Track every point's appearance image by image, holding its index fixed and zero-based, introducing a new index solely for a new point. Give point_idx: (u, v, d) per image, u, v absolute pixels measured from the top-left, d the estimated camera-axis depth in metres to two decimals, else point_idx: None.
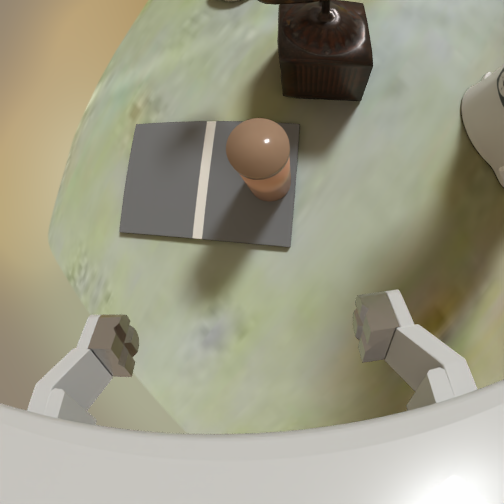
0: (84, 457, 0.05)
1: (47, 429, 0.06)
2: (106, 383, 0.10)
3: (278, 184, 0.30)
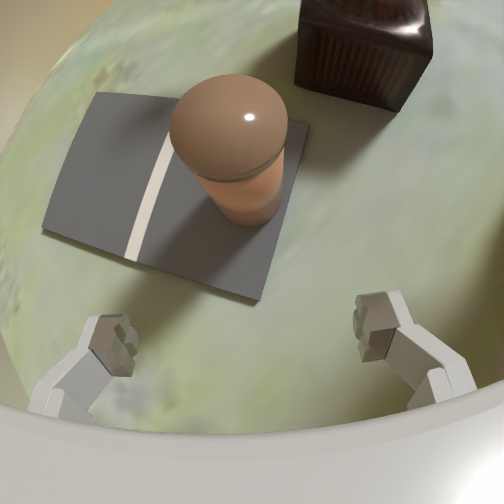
0: (84, 457, 0.05)
1: (47, 429, 0.06)
2: (106, 383, 0.10)
3: (256, 200, 0.18)
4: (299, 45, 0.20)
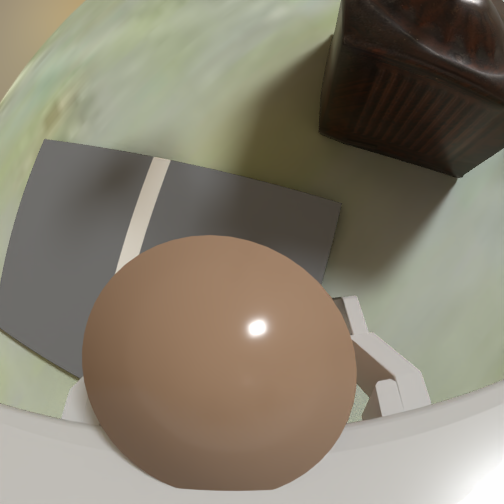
0: (84, 457, 0.05)
1: (47, 429, 0.06)
2: None
3: None
4: (337, 81, 0.13)
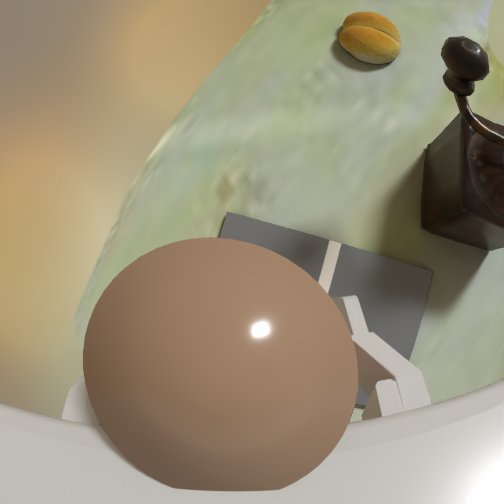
0: (84, 457, 0.05)
1: (47, 429, 0.06)
2: None
3: None
4: (447, 217, 0.24)
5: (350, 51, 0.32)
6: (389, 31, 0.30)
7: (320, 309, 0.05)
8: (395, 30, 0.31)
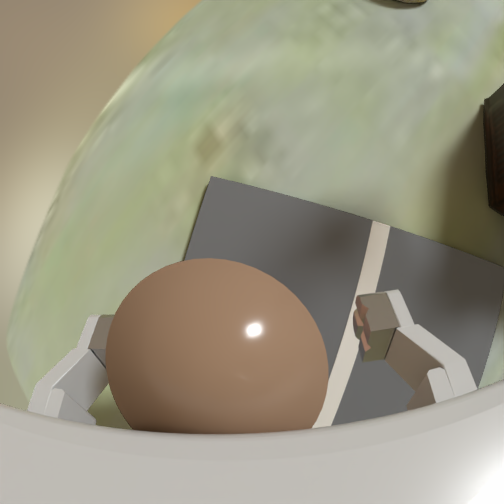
0: (84, 457, 0.05)
1: (47, 429, 0.06)
2: (106, 383, 0.10)
3: None
4: None
5: None
6: None
7: (296, 316, 0.07)
8: None
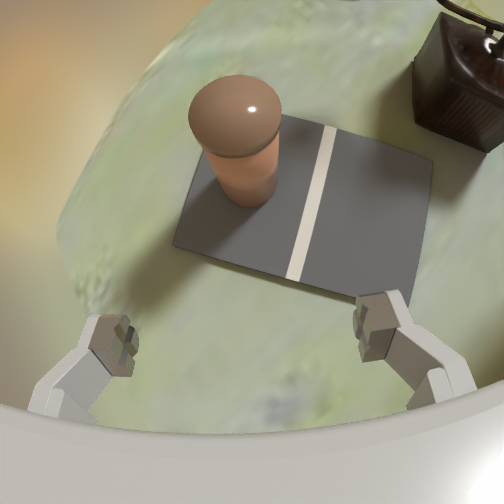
0: (84, 457, 0.05)
1: (47, 429, 0.06)
2: (106, 383, 0.10)
3: (256, 178, 0.21)
4: (439, 96, 0.23)
5: None
6: None
7: (268, 89, 0.17)
8: None
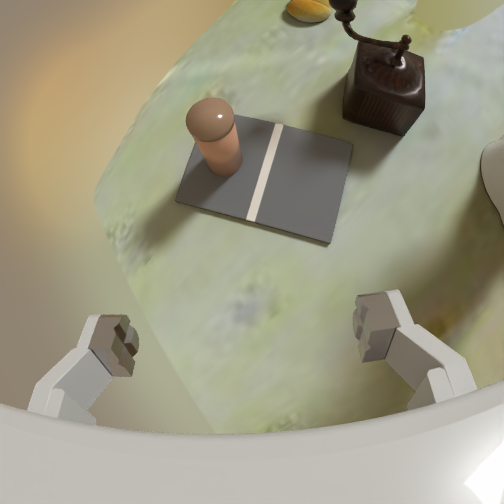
0: (84, 457, 0.05)
1: (47, 429, 0.06)
2: (106, 383, 0.10)
3: (223, 154, 0.37)
4: (351, 98, 0.38)
5: (293, 15, 0.46)
6: (321, 1, 0.44)
7: (227, 105, 0.32)
8: (327, 0, 0.44)
